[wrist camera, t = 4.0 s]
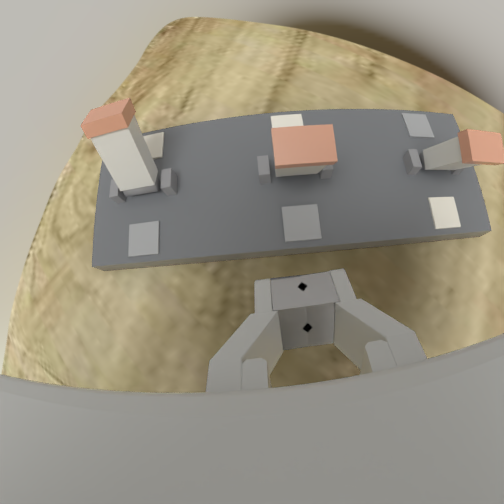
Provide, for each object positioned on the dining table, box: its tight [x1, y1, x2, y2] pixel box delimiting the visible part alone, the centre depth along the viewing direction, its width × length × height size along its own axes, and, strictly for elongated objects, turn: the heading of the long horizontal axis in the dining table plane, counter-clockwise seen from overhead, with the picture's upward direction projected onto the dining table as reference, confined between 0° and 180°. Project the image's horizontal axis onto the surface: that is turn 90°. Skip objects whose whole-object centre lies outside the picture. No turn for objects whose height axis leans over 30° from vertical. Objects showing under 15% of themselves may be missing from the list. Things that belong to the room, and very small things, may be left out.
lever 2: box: [419, 129, 504, 170], centre depth 18 cm, size 2×3×8 cm, turn 94°
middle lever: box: [271, 124, 338, 177], centre depth 19 cm, size 2×3×8 cm, turn 94°
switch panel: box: [92, 109, 491, 271], centre depth 23 cm, size 12×34×4 cm, turn 94°
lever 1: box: [81, 98, 161, 197], centre depth 20 cm, size 2×3×8 cm, turn 94°
